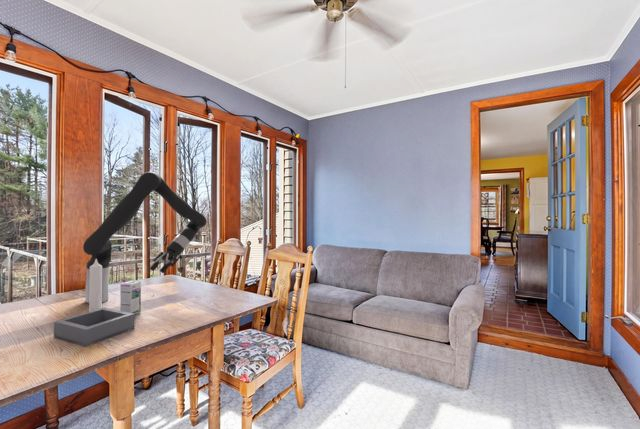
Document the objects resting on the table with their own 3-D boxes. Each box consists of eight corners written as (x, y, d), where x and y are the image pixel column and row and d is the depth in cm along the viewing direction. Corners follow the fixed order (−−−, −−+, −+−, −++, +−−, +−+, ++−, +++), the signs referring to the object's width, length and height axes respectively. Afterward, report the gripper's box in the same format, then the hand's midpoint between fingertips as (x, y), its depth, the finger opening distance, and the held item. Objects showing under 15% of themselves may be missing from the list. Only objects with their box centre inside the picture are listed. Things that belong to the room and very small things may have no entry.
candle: (108, 313, 139) (109, 258, 138) (92, 318, 132) (93, 260, 132) (97, 311, 141) (98, 257, 141) (81, 315, 134) (82, 259, 134)
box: (53, 337, 112) (54, 321, 112) (104, 321, 128) (104, 307, 128) (85, 346, 105) (86, 329, 105) (134, 328, 122) (134, 313, 122)
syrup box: (130, 316, 135) (131, 284, 135) (119, 315, 136) (120, 283, 136) (140, 312, 140) (141, 281, 140) (130, 311, 142) (130, 280, 141)
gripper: (165, 239, 159) (142, 264, 149) (182, 241, 152) (159, 268, 142) (174, 248, 164) (153, 273, 154) (191, 251, 156) (170, 277, 146)
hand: (156, 270), depth 148 cm, fingers open, 8 cm apart
